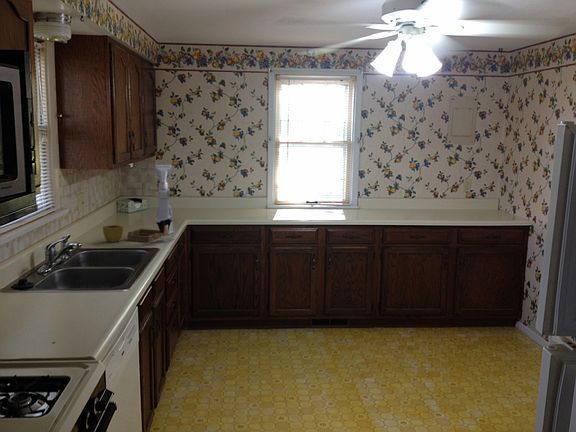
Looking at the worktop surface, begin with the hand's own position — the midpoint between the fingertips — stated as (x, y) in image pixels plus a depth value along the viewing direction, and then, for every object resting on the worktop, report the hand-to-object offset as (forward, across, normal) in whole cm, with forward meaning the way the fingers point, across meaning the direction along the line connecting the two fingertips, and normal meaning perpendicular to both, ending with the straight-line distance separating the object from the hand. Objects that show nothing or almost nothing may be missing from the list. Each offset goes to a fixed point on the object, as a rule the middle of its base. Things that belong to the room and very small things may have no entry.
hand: (164, 232), depth 341 cm
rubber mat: (+5, 0, 0) cm, 5 cm away
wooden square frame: (+5, 0, -14) cm, 15 cm away
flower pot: (+5, +13, -27) cm, 30 cm away
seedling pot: (+2, 0, 0) cm, 2 cm away
